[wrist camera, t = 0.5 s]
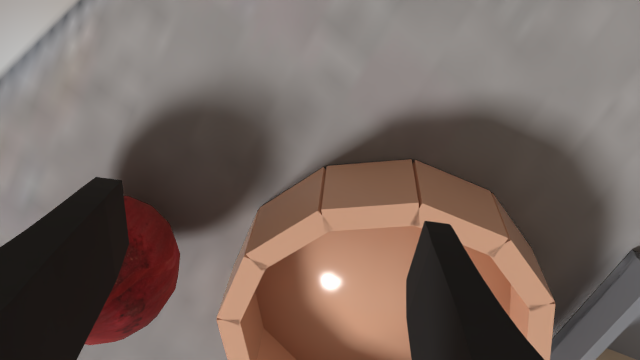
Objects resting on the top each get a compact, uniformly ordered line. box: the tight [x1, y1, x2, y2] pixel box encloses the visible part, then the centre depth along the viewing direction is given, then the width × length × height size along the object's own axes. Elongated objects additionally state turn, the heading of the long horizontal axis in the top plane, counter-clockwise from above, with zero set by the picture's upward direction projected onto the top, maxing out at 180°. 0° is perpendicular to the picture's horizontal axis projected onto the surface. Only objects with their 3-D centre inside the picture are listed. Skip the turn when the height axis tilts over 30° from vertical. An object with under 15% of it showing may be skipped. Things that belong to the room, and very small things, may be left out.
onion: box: [85, 196, 180, 345], centre depth 23 cm, size 6×6×8 cm
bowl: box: [217, 159, 555, 360], centre depth 26 cm, size 14×14×4 cm
